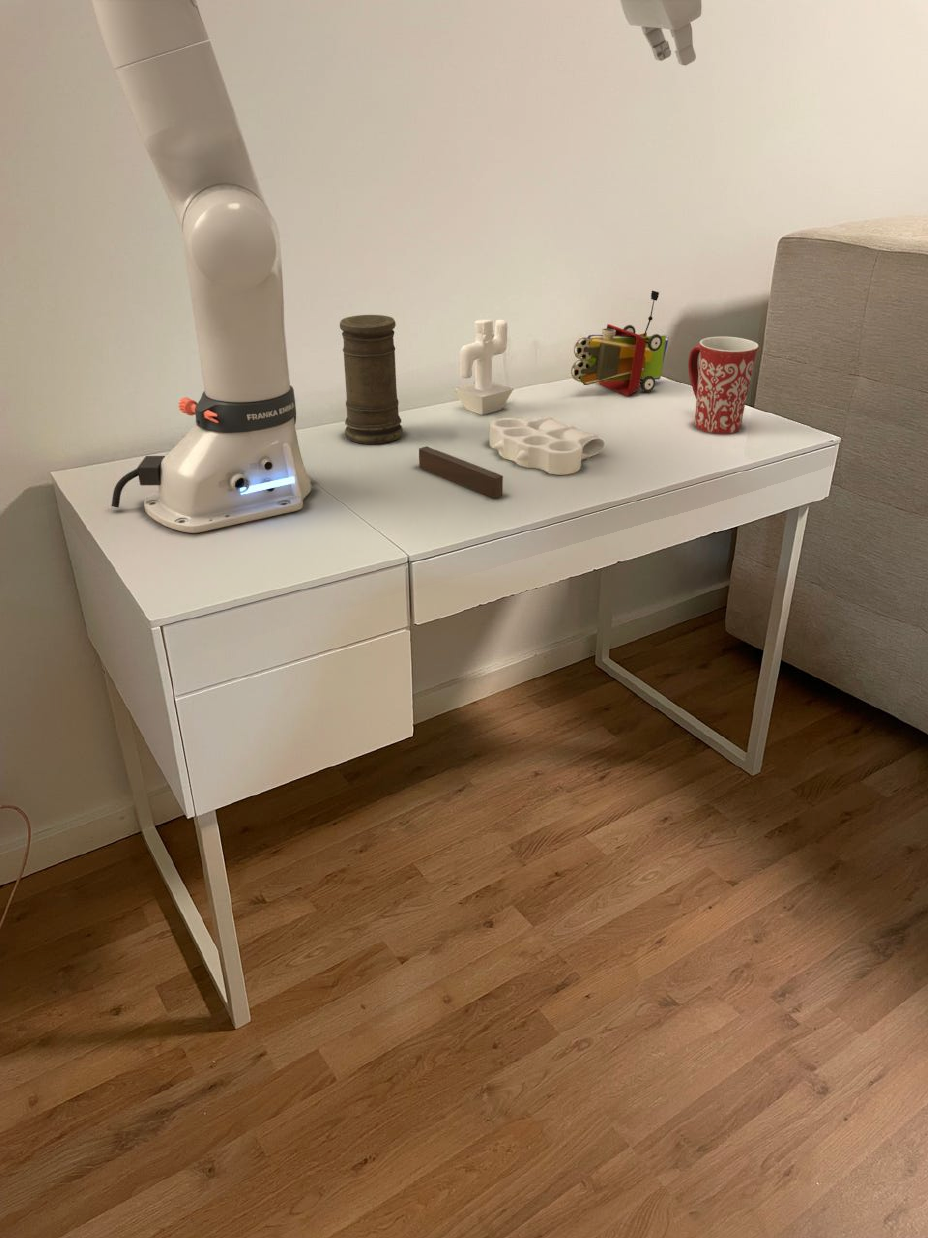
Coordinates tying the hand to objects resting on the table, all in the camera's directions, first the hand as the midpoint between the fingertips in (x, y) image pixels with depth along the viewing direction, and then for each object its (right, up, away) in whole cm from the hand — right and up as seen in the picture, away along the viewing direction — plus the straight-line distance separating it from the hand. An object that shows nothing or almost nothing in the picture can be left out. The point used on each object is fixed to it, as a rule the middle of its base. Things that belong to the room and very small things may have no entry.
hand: (675, 60), depth 121 cm
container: (-41, -40, +34) cm, 67 cm away
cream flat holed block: (-15, -45, +26) cm, 54 cm away
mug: (+14, -38, +38) cm, 55 cm away
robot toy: (+2, -28, +55) cm, 62 cm away
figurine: (-23, -34, +45) cm, 61 cm away
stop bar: (-27, -50, +16) cm, 59 cm away
